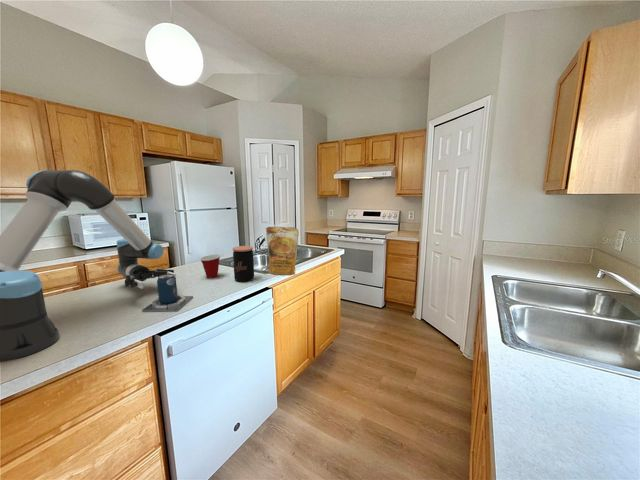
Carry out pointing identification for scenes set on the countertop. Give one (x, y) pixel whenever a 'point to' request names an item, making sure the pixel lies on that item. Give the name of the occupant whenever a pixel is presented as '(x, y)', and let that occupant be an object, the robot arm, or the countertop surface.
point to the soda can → (167, 289)
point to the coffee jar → (243, 263)
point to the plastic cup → (211, 265)
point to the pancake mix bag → (282, 249)
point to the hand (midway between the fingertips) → (159, 281)
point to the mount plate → (172, 307)
